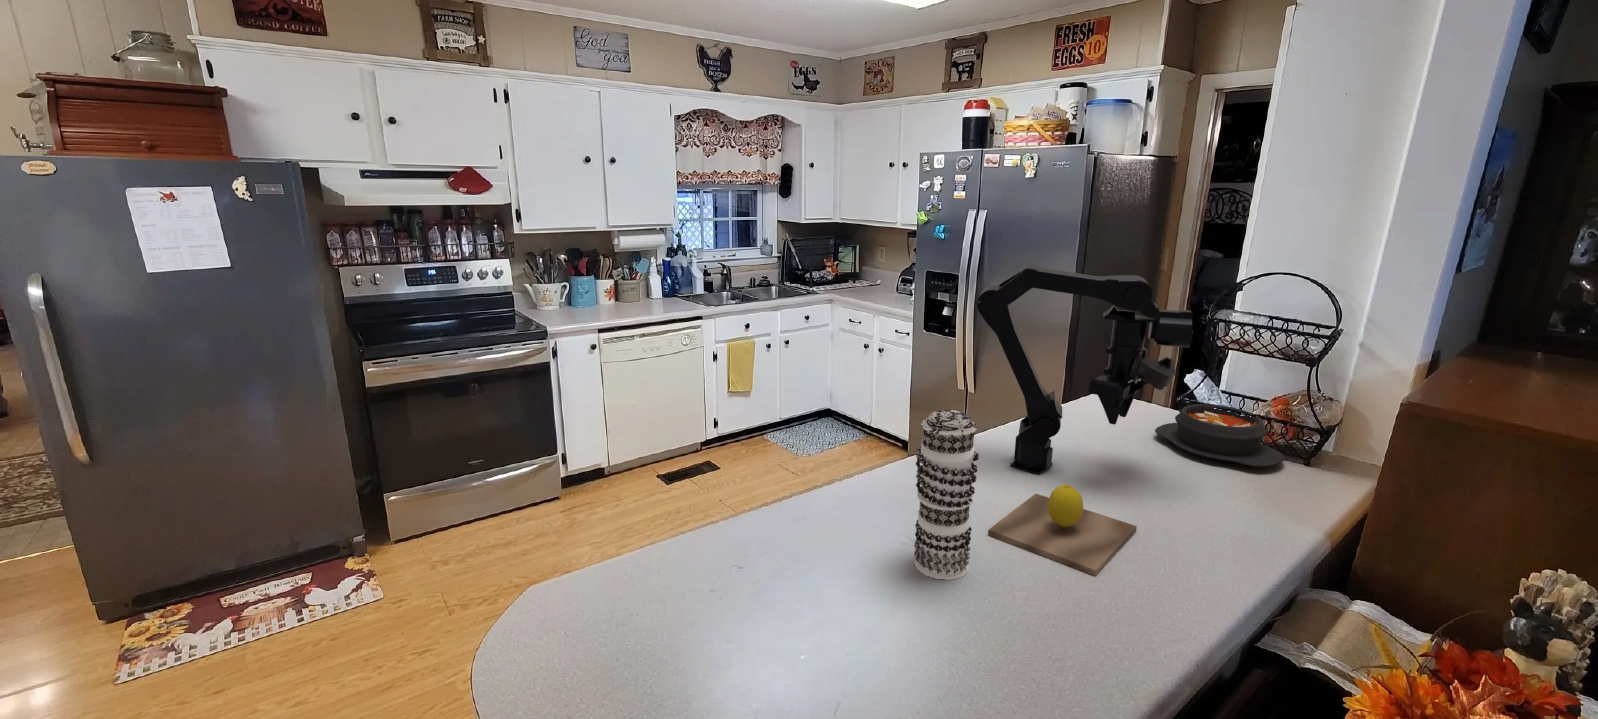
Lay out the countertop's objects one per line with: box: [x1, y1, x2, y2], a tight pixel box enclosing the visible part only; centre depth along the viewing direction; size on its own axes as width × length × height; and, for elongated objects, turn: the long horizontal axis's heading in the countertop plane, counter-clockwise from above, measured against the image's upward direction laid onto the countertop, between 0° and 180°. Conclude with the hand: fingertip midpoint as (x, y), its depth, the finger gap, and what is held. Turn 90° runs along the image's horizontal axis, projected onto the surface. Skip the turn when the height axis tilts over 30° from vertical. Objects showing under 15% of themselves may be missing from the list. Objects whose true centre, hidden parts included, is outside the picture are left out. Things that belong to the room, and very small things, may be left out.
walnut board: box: [987, 493, 1138, 577], centre depth 117 cm, size 18×18×1 cm
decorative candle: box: [913, 409, 980, 581], centre depth 105 cm, size 9×9×25 cm
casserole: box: [1154, 403, 1285, 468], centre depth 148 cm, size 25×19×8 cm
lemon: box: [1048, 483, 1084, 528], centre depth 116 cm, size 6×6×8 cm
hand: (1117, 420), depth 134 cm, fingers open, 5 cm apart
